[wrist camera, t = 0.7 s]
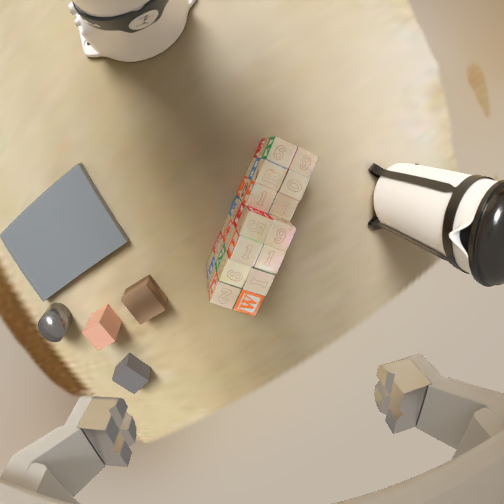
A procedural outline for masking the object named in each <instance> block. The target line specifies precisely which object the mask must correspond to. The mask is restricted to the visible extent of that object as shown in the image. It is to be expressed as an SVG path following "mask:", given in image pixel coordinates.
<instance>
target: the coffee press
mask: <svg viewBox="0 0 504 504" xmlns="http://www.w3.org/2000/svg"><path fill="white" fill-rule="evenodd" d="M369 171H370V172H371V173H372V174H373V175H374V176H376V177H377V178H378V181H377V184H376V187H375V190H374V209H375V212H376V215H377V217H375V218H373V219H371V220H370V221H369V223H368V225H369V226H370V227H371V228H372V229H373V230H378V229H381V228H384V229H386V230H389V231H391V232H393V233H395V234H397V235H399V236H400V237H402V238H404V239H406V240H408V241H410V242H412V243H414V244H416V245H418V246H420V247H421V248H423V249H425V250H427V251H429V252H431V253H433V254H434V255H436V256H438V257H440V258H442V259H444V260H447V261H449V263H451V264H452V265H453V266H454V267H456V268H457V269H459V270H461V271H462V272H464V273H467V274H471V275H473V277H474V279H475V280H476V281H477V282H478V283H480V284H482V285H483V286H487V287H490V286H494V285H501V284H504V180H501V181H495V180H494V179H492V178H490V177H486V176H481V175H469V174H464V173H459V172H454V171H449V170H444V169H439V168H433V167H428V166H422V165H418V164H409V163H398V164H395V165H392V166H391V167H389V168H388V169H386V170H385V169H383V168H381V167H380V166H378V165H376V164H374V163H373V165H372V166H371V167H370V168H369ZM380 222H381V223H382V224H381V223H380Z"/></svg>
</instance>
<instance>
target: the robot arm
mask: <svg viewBox="0 0 504 504" xmlns="http://www.w3.org/2000/svg"><path fill="white" fill-rule="evenodd" d="M195 1H196V0H72V2H71V3H70V4H69V9H70V12H71V13H72V15H75V14H76V19H75V24H76V26H77V27H78V29H79V33H80V38H81V42H82V47H83V51H84V53H85V55H86V56H87V57H102V56H104V57H109V58H112V59H115V60H118V61H124V62H135V61H141V60H145V59H148V58H151V57H154V56H156V55H158V54H160V53H161V52H163V51H165V50H166V49H167V48H169V47H170V46H171V45H172V44H173V43H174V42H175V41H176V40H177V39H178V38H179V36H180V35H181V33H182V31H183V29H184V27H185V24H186V21H187V15H188V11H189V9H190V8H191V6H192V5H193V4H194V2H195ZM89 43H90V45H88V44H89ZM377 377H378V378H379V380H380V381H379V382H378V384H377V385H376V386H375V393H374V394H375V401H376V404H377V407H378V409H379V411H380V412H382V413H384V414H386V415H387V416H386V420H385V421H386V423H387V424H388V426H389V428H390V429H391V431H392V433H393V434H395V433H398V432H401V431H404V430H407V429H410V428H413V427H416V428H418V429H420V430H421V431H423V432H425V433H427V434H429V435H431V436H432V437H434V438H436V439H438V440H440V441H442V442H444V443H446V444H447V445H449V446H451V447H453V448H455V449H457V450H456V452H455V454H454V456H453V458H452V459H451V460H450V461H448V462H446V463H444V464H442V465H440V466H438V467H436V468H434V469H431V470H429V471H427V472H425V473H423V474H420V475H418V476H416V477H413V478H411V479H408V480H406V481H403V482H401V483H398V484H395V485H393V486H390V487H387V488H384V489H381V490H378V491H376V492H372V493H369V494H366V495H363V496H359V497H356V498H353V499H349V500H345V501H341V502H337V503H333V504H504V393H500V392H497V391H493V390H489V389H486V388H482V387H479V386H475V385H472V384H469V383H465V382H461V381H459V380H455V379H452V378H446V379H445V378H444V377H443V376H442V375H441V374H440V373H439V372H438V371H437V369H435V367H434V366H433V365H432V364H431V363H430V362H429V361H428V360H427V359H426V358H425V357H424V356H423V355H422V354H416V355H413V356H410V357H407V358H405V359H401V360H398V361H394V362H391V363H388V364H384V365H380V366H379V368H378V371H377ZM127 408H128V406H127V405H126V403H125V401H124V399H122V398H112V397H96V396H95V397H92V396H82V397H80V398H79V400H78V402H77V404H76V405H75V407H74V409H73V411H72V412H71V414H70V416H69V418H68V420H67V422H66V424H65V425H64V426H59V427H58V428H56V429H55V430H53V431H51V432H50V433H48V434H47V435H45V436H43V437H42V438H40V439H39V440H37V441H35V442H33V443H32V444H30V445H28V446H27V447H26V448H23V449H22V450H20V451H19V452H17V453H15V454H14V455H13V456H12V458H11V459H10V461H9V463H8V465H7V466H6V468H5V470H4V472H3V474H2V475H1V477H0V504H80V503H79V502H77V500H76V499H75V498H74V496H75V495H76V494H77V493H78V492H79V491H80V490H81V489H82V488H83V487H84V486H85V485H87V484H88V483H89V482H90V481H91V480H92V479H93V478H94V477H95V476H96V475H97V474H98V473H99V472H100V471H101V470H102V469H103V468H104V467H105V465H110V466H111V465H112V466H123V467H128V464H129V461H130V457H131V454H132V452H131V450H130V448H129V446H131V445H132V444H133V443H135V439H136V425H135V421H134V419H133V417H132V416H131V415H130V414H128V413H127V412H126V410H127Z"/></svg>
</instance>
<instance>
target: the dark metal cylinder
mask: <svg viewBox="0 0 504 504" xmlns="http://www.w3.org/2000/svg"><path fill="white" fill-rule="evenodd" d="M71 322H72V315H71V312H70V311H69V309H68V308H67V307H66V306H65V305H63V304H61V303H53V304H51V305H50V307H49V308H48V309H47V311H46V312H45V313H44V315H43V316H42V317H41V319H40V320H39V322H38V328H39V331H40V333H41V334H42V336H43V337H44V338H46V339H47V340H49V341H51V342H59V341H60V340H61V339H62V338H63V336H64V334H65V332H66V331H67V329H68V327H69V326H70V324H71Z"/></svg>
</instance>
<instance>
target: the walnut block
mask: <svg viewBox="0 0 504 504" xmlns="http://www.w3.org/2000/svg"><path fill="white" fill-rule="evenodd" d="M121 301H122V302H123V304H124V305H125V306H126V307H127V309H128V310H129V311H130V312H131V314H132V315H133V316H134V317H135V319H136V320H137V321H138V322H139V323H140V324H142V323H144V322H146V321H148V320H149V319H151V318H153V317H155V316H156V315H158V314H160V313H162V312H163V311H165V310H166V305H167V297H166V296H165V295H164V293H163V292H162V291H161V289H160V288H159V287H158V285H157V284H156V282H155V281H154V280H153V278H152V277H151V276H150V275H148V276H147V277H145V278H143V279H142V280H140V281H138V282H137V283H135V284H134V285H132V286H130V287H129V288H127V289H126V290H125V292H124V295H123V297H122V299H121Z"/></svg>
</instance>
